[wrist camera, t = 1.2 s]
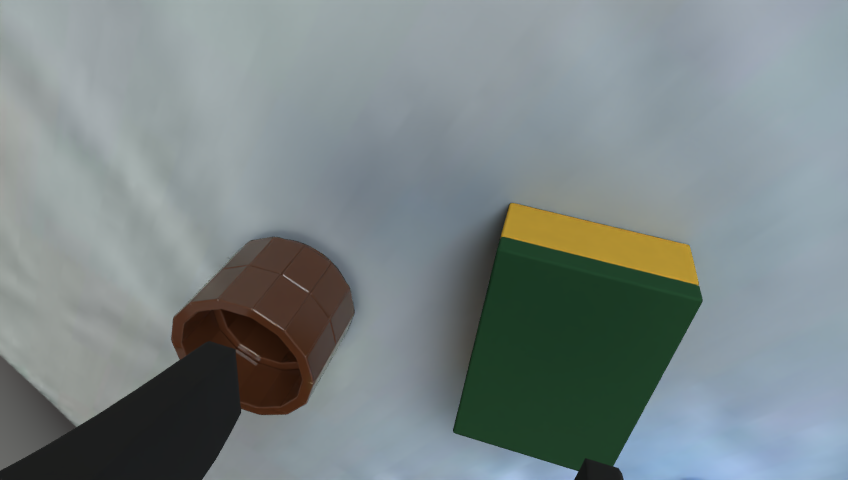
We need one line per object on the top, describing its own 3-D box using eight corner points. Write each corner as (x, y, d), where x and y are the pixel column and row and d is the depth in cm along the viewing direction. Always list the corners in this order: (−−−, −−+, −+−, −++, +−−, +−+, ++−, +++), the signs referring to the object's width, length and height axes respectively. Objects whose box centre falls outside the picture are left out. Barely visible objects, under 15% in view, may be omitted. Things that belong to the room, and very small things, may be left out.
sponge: (605, 417, 23) (606, 480, 21) (467, 377, 24) (452, 433, 22) (690, 244, 18) (704, 300, 16) (510, 201, 19) (497, 248, 16)
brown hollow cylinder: (355, 350, 25) (312, 432, 21) (241, 316, 26) (180, 390, 22) (363, 250, 22) (314, 327, 18) (231, 216, 23) (159, 282, 19)
